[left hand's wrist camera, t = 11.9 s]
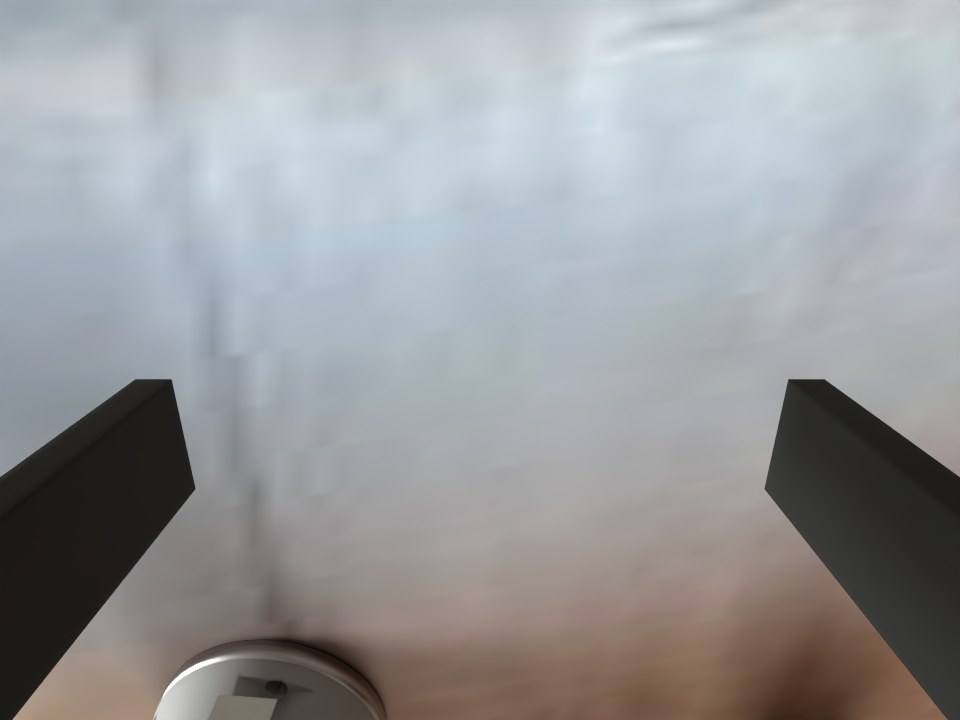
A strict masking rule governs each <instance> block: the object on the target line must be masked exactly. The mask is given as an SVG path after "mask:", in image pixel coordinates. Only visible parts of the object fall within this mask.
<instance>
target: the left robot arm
mask: <svg viewBox="0 0 960 720" xmlns="http://www.w3.org/2000/svg"><path fill="white" fill-rule="evenodd" d="M194 490H195V485H194V480H193V476H192V471H191V466H190V462H189V457H188V453H187V448H186V443H185V439H184V434H183V430H182V425H181V421H180V416H179V411H178V407H177V402H176V398H175V393H174V388H173V384H172V379H135V380H134V381H133V382H131V383H130V384H129V385H127V386H126V387H124V388H123V389H122V390H120V391H119V392H117V393H116V394H115V395H113V396H112V397H111V398H109V399H108V400H106V401H105V402H104V403H102V404H101V405H100V406H98V407H97V408H95V409H94V410H93V411H91V412H90V413H88V414H87V415H86V416H84V417H83V418H82V419H80V420H79V421H77V422H76V423H75V424H73V425H72V426H70V427H69V428H68V429H66V430H65V431H64V432H62V433H61V434H59V435H58V436H57V437H55V438H54V439H53V440H51V441H50V442H48V443H47V444H46V445H44V446H43V447H41V448H40V449H39V450H37V451H36V452H35V453H33V454H32V455H30V456H29V457H28V458H26V459H25V460H23V461H22V462H21V463H19V464H18V465H17V466H15V467H14V468H12V469H11V470H10V471H8V472H7V473H6V474H4V475H3V476H1V477H0V720H12V719H13V718H14V717H15V716H16V714H17V713H18V712H19V711H20V709H21V708H22V707H23V706H24V704H25V703H26V702H27V701H28V699H29V698H30V697H31V696H32V694H33V693H34V692H35V690H36V689H37V688H38V687H39V685H40V684H41V683H42V682H43V680H44V679H45V678H46V677H47V675H48V674H49V673H50V672H51V670H52V669H53V668H54V667H55V665H56V664H57V663H58V661H59V660H60V659H61V658H62V656H63V655H64V654H65V653H66V651H67V650H68V649H69V648H70V646H71V645H72V644H73V643H74V641H75V640H76V639H77V638H78V636H79V635H80V634H81V632H82V631H83V630H84V629H85V627H86V626H87V625H88V624H89V622H90V621H91V620H92V619H93V617H94V616H95V615H96V614H97V612H98V611H99V610H100V609H101V607H102V606H103V605H104V604H105V602H106V601H107V600H108V598H109V597H110V596H111V595H112V593H113V592H114V591H115V590H116V588H117V587H118V586H119V585H120V583H121V582H122V581H123V580H124V578H125V577H126V576H127V575H128V573H129V572H130V571H131V569H132V568H133V567H134V566H135V564H136V563H137V562H138V561H139V559H140V558H141V557H142V556H143V554H144V553H145V552H146V551H147V549H148V548H149V547H150V546H151V544H152V543H153V542H154V540H155V539H156V538H157V537H158V535H159V534H160V533H161V532H162V530H163V529H164V528H165V527H166V525H167V524H168V523H169V522H170V520H171V519H172V518H173V517H174V515H175V514H176V513H177V511H178V510H179V509H180V508H181V506H182V505H183V504H184V503H185V501H186V500H187V499H188V498H189V496H190V495H191V494H192V493H193V491H194ZM765 490H766V491H767V493H768V494H769V495H770V496H771V498H772V499H773V500H774V501H775V503H776V504H777V505H778V506H779V508H780V509H781V510H782V512H783V513H784V514H785V515H786V517H787V518H788V519H789V520H790V522H791V523H792V524H793V525H794V527H795V528H796V529H797V530H798V532H799V533H800V534H801V535H802V537H803V538H804V539H805V540H806V542H807V543H808V544H809V546H810V547H811V548H812V549H813V551H814V552H815V553H816V554H817V556H818V557H819V558H820V559H821V561H822V562H823V563H824V564H825V566H826V567H827V568H828V569H829V571H830V572H831V573H832V575H833V576H834V577H835V578H836V580H837V581H838V582H839V583H840V585H841V586H842V587H843V588H844V590H845V591H846V592H847V593H848V595H849V596H850V597H851V598H852V600H853V601H854V602H855V604H856V605H857V606H858V607H859V609H860V610H861V611H862V612H863V614H864V615H865V616H866V617H867V619H868V620H869V621H870V622H871V624H872V625H873V626H874V627H875V629H876V630H877V631H878V632H879V634H880V635H881V636H882V638H883V639H884V640H885V641H886V643H887V644H888V645H889V646H890V648H891V649H892V650H893V651H894V653H895V654H896V655H897V656H898V658H899V659H900V660H901V661H902V663H903V664H904V665H905V667H906V668H907V669H908V670H909V672H910V673H911V674H912V675H913V677H914V678H915V679H916V680H917V682H918V683H919V684H920V685H921V687H922V688H923V689H924V690H925V692H926V693H927V694H928V696H929V697H930V698H931V699H932V701H933V702H934V703H935V704H936V706H937V707H938V708H939V709H940V711H941V712H942V713H943V714H944V716H945V717H946V718H947V719H948V720H960V477H959V476H957V475H956V474H954V473H953V472H952V471H950V470H949V469H948V468H946V467H945V466H943V465H942V464H941V463H939V462H938V461H937V460H935V459H934V458H932V457H931V456H930V455H928V454H927V453H925V452H924V451H923V450H921V449H920V448H919V447H917V446H916V445H914V444H913V443H912V442H910V441H909V440H907V439H906V438H905V437H903V436H902V435H901V434H899V433H898V432H896V431H895V430H894V429H892V428H891V427H890V426H888V425H887V424H885V423H884V422H883V421H881V420H880V419H878V418H877V417H876V416H874V415H873V414H872V413H870V412H869V411H867V410H866V409H865V408H863V407H862V406H860V405H859V404H858V403H856V402H855V401H854V400H852V399H851V398H849V397H848V396H847V395H845V394H844V393H843V392H841V391H840V390H838V389H837V388H836V387H834V386H833V385H831V384H830V383H829V382H827V381H826V380H825V379H788V384H787V388H786V393H785V398H784V402H783V407H782V411H781V416H780V421H779V425H778V430H777V434H776V439H775V443H774V448H773V453H772V457H771V462H770V466H769V471H768V476H767V480H766V485H765ZM153 720H386V717H385V712H384V709H383V706H382V704H381V702H380V700H379V698H378V696H377V695H376V693H375V692H374V690H373V689H372V688H371V686H370V685H369V684H368V683H367V682H366V681H365V680H364V679H363V678H362V677H361V676H360V675H359V674H358V673H357V672H355V671H354V670H353V669H351V668H350V667H349V666H347V665H346V664H344V663H342V662H341V661H339V660H337V659H336V658H334V657H331V656H329V655H327V654H325V653H323V652H320V651H318V650H315V649H312V648H309V647H306V646H302V645H298V644H294V643H289V642H283V641H274V640H244V641H236V642H231V643H226V644H222V645H219V646H216V647H213V648H210V649H208V650H205V651H203V652H202V653H200V654H198V655H196V656H195V657H193V658H192V659H190V660H189V661H188V662H186V663H185V664H184V665H183V666H182V667H181V668H180V669H179V670H178V672H177V673H176V674H175V676H174V677H173V679H172V681H171V682H170V684H169V686H168V688H167V690H166V691H165V693H164V695H163V697H162V699H161V701H160V703H159V705H158V709H157V711H156V713H155V716H154V719H153Z"/></svg>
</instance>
